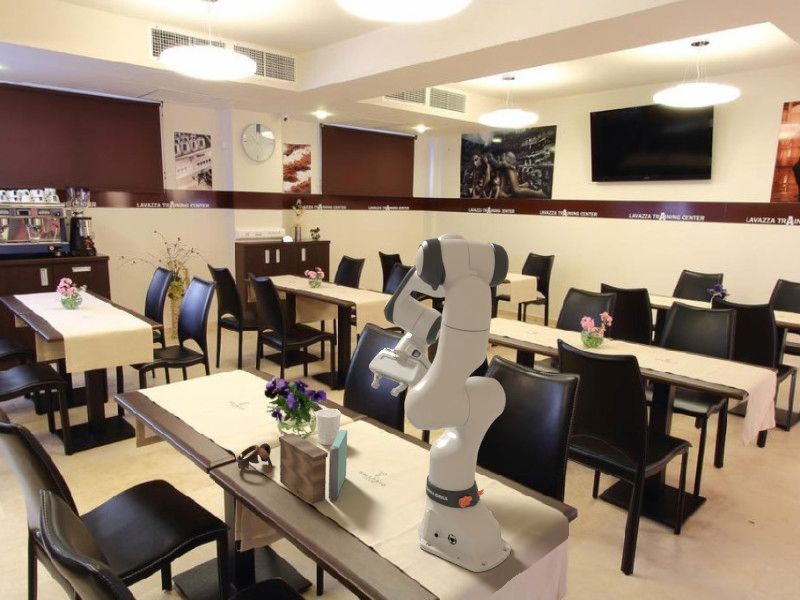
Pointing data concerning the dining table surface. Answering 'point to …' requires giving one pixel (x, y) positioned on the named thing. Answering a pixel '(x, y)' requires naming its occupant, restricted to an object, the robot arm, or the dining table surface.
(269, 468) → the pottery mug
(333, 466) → the teal square slab
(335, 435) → the white cup
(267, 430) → the dining table surface
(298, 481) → the wooden board
